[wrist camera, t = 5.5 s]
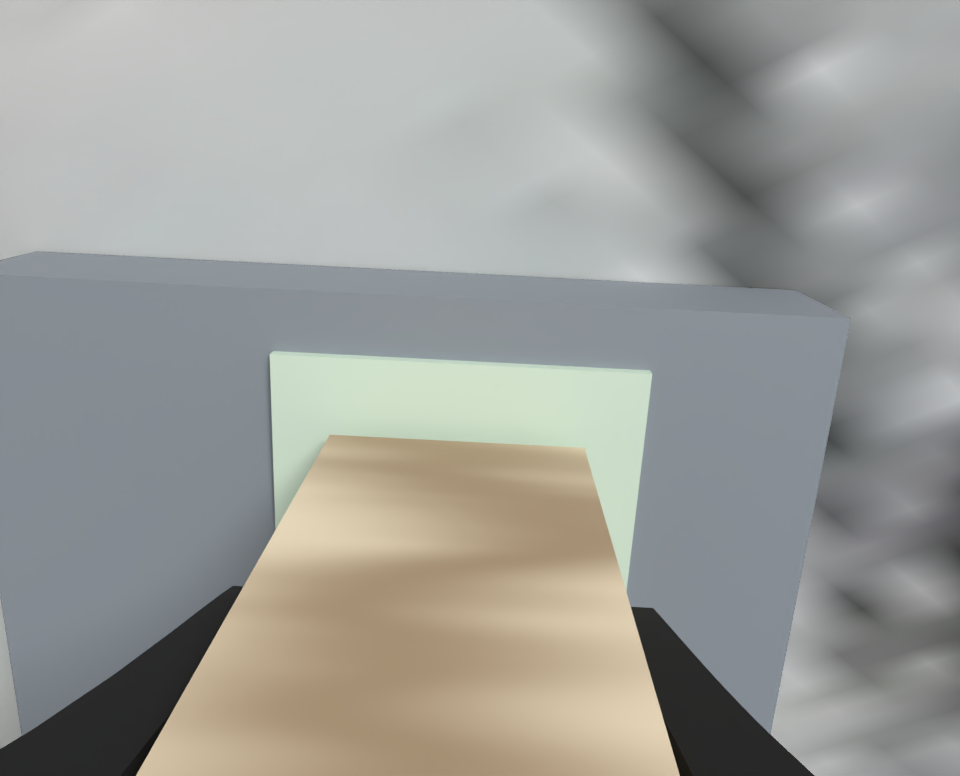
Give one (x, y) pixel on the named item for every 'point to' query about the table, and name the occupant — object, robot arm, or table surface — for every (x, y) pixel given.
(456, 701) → the beech block
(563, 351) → the pocket board
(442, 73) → the table surface
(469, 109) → the table surface
